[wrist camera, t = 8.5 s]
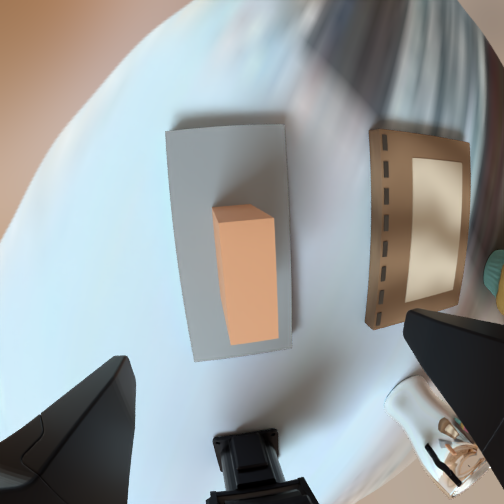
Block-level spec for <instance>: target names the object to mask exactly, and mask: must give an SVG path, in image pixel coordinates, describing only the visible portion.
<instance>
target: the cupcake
mask: <svg viewBox="0 0 504 504" xmlns="http://www.w3.org/2000/svg"><path fill="white" fill-rule="evenodd" d="M483 280H484V284H485V286H486V287H487V288H488V289H489V290H490V292H491V293H492V294H493V295H494V296H495V298H496V304H497V308H498V309H499V311H500V312H501V313H502V314H503V315H504V250H496V251H494V252H493V253H492V254H491V255H490V257H489V258H488V260H487V263H486V265H485V269H484V275H483Z"/></svg>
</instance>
